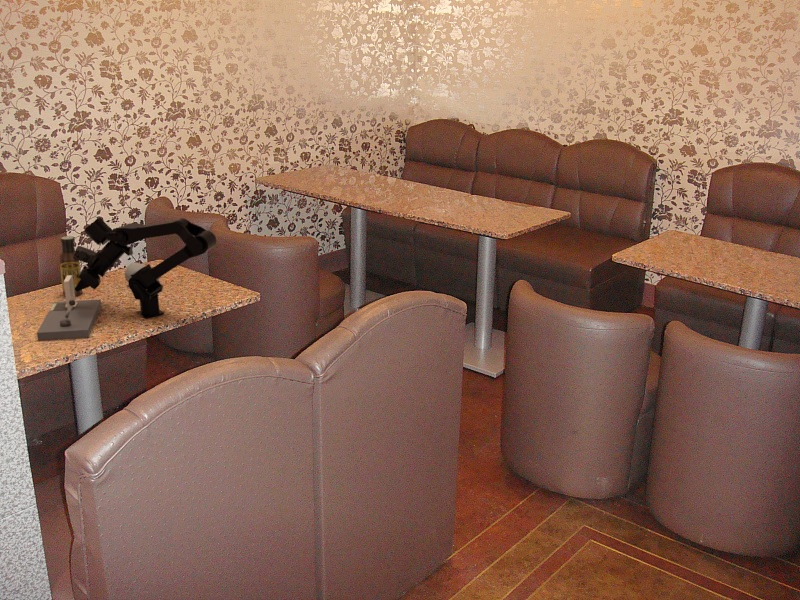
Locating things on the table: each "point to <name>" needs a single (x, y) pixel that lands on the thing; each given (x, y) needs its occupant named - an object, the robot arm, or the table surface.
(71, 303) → the steel toggle lever
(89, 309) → the switch panel
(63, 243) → the sauce bottle
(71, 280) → the ivory paddle
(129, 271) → the ceramic mug
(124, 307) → the table surface
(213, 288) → the table surface
